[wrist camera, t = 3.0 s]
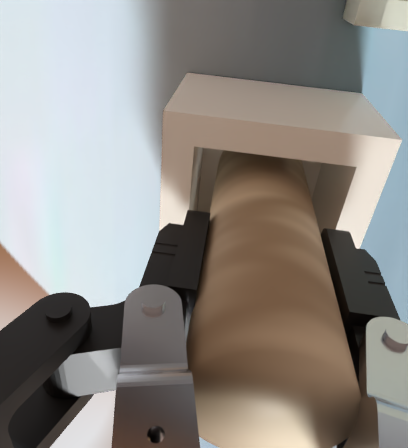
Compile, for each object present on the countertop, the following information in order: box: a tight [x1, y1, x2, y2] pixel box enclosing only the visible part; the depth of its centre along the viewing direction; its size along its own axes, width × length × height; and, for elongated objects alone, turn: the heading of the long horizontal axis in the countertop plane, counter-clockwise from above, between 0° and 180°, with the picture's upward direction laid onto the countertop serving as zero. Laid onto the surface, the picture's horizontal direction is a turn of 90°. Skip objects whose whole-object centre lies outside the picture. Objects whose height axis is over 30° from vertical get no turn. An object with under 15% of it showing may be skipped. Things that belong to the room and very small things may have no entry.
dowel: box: [186, 150, 362, 448], centre depth 12 cm, size 4×4×11 cm
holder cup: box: [159, 73, 402, 249], centre depth 15 cm, size 7×7×5 cm
